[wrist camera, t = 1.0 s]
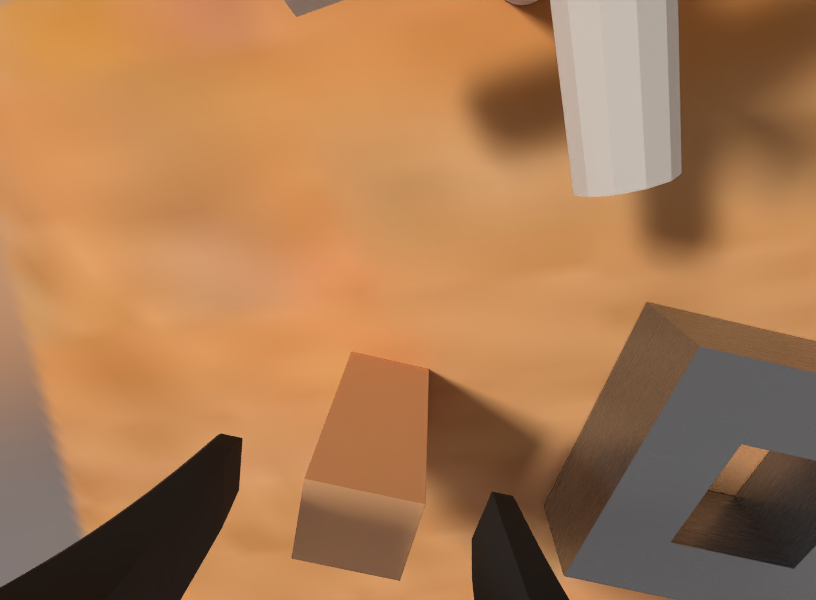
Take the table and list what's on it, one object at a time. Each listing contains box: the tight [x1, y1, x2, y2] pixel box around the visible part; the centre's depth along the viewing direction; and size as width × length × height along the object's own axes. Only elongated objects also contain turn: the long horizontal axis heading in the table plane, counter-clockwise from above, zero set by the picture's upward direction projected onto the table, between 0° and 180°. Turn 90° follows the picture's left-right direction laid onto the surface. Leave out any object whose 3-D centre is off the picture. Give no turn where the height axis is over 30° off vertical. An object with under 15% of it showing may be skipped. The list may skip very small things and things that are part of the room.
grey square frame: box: [544, 302, 816, 600], centre depth 15 cm, size 10×10×3 cm
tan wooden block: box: [292, 352, 429, 581], centre depth 13 cm, size 3×3×6 cm
